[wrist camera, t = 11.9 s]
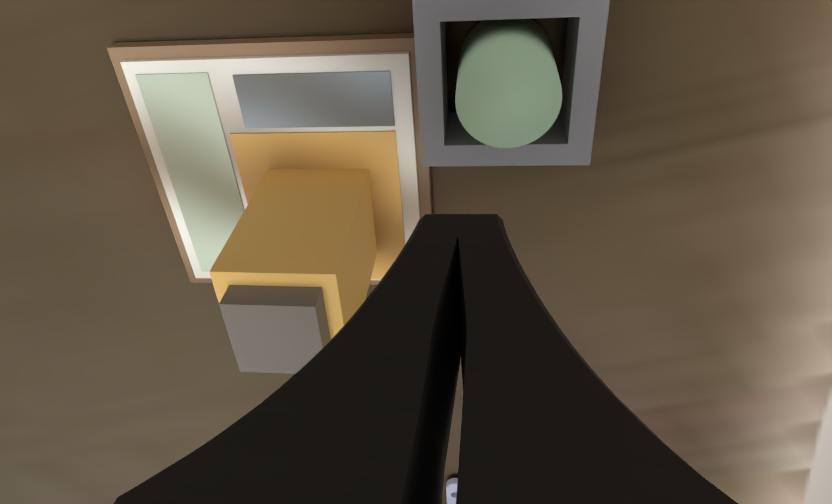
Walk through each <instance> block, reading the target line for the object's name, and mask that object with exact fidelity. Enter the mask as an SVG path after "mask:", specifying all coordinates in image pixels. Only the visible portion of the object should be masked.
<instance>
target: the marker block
mask: <svg viewBox="0 0 832 504" xmlns="http://www.w3.org/2000/svg"><path fill="white" fill-rule="evenodd" d="M376 255H377V246H376V236H375V227H374V217H373V208H372V198H371V189H370V179H369V169H268V171H267V172H266V174H265V176H264V178H263V179H262V181H261V183H260V185H259V186H258V188H257V190H256V191H255V193H254V195H253V197H252V198H251V200H250V202H249V204H248V205H247V207H246V209H245V211H244V212H243V214H242V216H241V217H240V219H239V221H238V223H237V224H236V226H235V228H234V230H233V231H232V233H231V235H230V237H229V238H228V240H227V242H226V244H225V245H224V247H223V249H222V250H221V252H220V254H219V256H218V257H217V259H216V261H215V263H214V264H213V266H212V268H211V270H210V271H209V273H210V276H211V279H212V282H213V285H214V289H215V292H216V295H217V298H218V301H219V306H220V309H221V313H222V316H223V319H224V322H225V325H226V328H227V332H228V335H229V338H230V341H231V344H232V347H233V351H234V354H235V357H236V360H237V363H238V367H239V370H240V372H262V373H288V374H296V373H297V372H298V371H299V370H300V369H301V368H302V367H304V366H305V365H306V364H307V363H308V362H309V361H310V360H311V359H312V358H313V357H314V356H315V355H316V354H317V353H318V352H319V351H320V350H321V349H322V348H323V347H324V346H325V345H326V344H327V343H328V342H329V341H330V340H331V339H332V338H333V337H334V336H335V335H336V334H337V333H338V332H339V331H340V329H341V328H342V327H343V326H344V325H345V324H346V323H347V322H348V321H349V319H350V318H351V317H352V316H353V315H354V313H355V312H356V311H357V310H358V309H359V307H360V306H361V305H362V304H363V302H364V301H365V300H366V297H367V293H368V289H369V284H370V280H371V276H372V272H373V267H374V263H375V259H376Z"/></svg>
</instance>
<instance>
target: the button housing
mask: <svg viewBox="0 0 832 504" xmlns="http://www.w3.org/2000/svg"><path fill="white" fill-rule="evenodd" d="M609 4H610V0H412V7H413V23H414V40H415V56H416V72H417V89H418V105H419V121H420V138H421V154H422V167H433V166H546V165H590V161H591V153H592V144H593V136H594V128H595V119H596V111H597V103H598V95H599V86H600V78H601V70H602V61H603V53H604V45H605V37H606V28H607V20H608V12H609ZM562 17H568V22H567V34H566V46H565V58H564V70H563V82H562V104H561V108H560V112H559V114H558V116H557V119H556V120H555V122H554V123H553V125H552V126H551V127H550V129H549V130H548V131H547V132H546V133H545V134H544V135H542V136H541V137H540V138H538V139H537V140H535V141H533V142H531V143H529V144H527V145H523V146H520V147H515V148H497V147H492V146H489V145H486V144H484V143H482V142H480V141H478V140H476V139H475V138H474V137H472V136H471V135H470V134H469V133H468V132H467V131H466V130H465V128H464V127H463V126H462V124H461V122H460V120H459V118H458V115H457V112H448V82H447V50H446V21H475V20H504V19H533V18H562Z"/></svg>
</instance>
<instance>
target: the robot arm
mask: <svg viewBox="0 0 832 504" xmlns="http://www.w3.org/2000/svg"><path fill="white" fill-rule="evenodd" d="M460 357H461V365H462V379H463V409H462V425H461V440H460V455H459V470H458V478H451V479H449V480H448V481H447V483H446V498H447V504H738V503H736V502H735V501H734V500H732V499H731V498H730V497H728V496H727V495H726V494H725V493H723V492H722V491H721V490H719V489H718V488H717V487H715V486H714V485H713V484H711V483H710V482H709V481H707V480H706V479H705V478H704V477H702V476H701V475H700V474H699V473H698V472H696V471H695V470H694V469H693V468H692V467H691V466H689V465H688V464H687V463H686V462H685V461H684V460H683V459H681V458H680V457H679V456H678V455H677V454H676V453H675V452H673V451H672V450H671V449H670V448H669V447H668V446H667V445H665V444H664V443H663V442H662V441H661V440H660V439H659V438H658V437H657V436H656V435H655V434H654V433H653V432H652V431H651V430H650V429H649V428H648V427H647V426H646V425H645V424H644V423H643V422H642V421H641V420H640V419H639V418H638V417H637V416H636V415H635V414H633V413H632V412H631V411H630V410H629V409H628V408H627V407H626V406H625V405H624V404H623V403H622V402H621V401H620V400H619V399H618V398H617V397H616V396H615V395H614V394H613V392H612V391H611V390H610V389H609V388H608V387H607V386H606V385H605V384H604V382H603V381H602V380H601V379H600V378H599V377H598V376H597V375H596V374H595V372H594V371H593V370H592V369H591V368H590V367H589V365H588V364H587V363H586V362H585V360H584V359H583V358H582V357H581V356H580V354H579V353H578V352H577V351H576V349H575V348H574V347H573V346H572V344H571V343H570V342H569V340H568V339H567V338H566V336H565V335H564V334H563V332H562V331H561V330H560V328H559V327H558V325H557V324H556V322H555V321H554V319H553V318H552V316H551V315H550V314H549V312H548V311H547V309H546V308H545V306H544V304H543V303H542V301H541V300H540V298H539V297H538V295H537V293H536V291H535V290H534V288H533V286H532V285H531V283H530V281H529V279H528V278H527V276H526V274H525V272H524V271H523V269H522V267H521V265H520V263H519V261H518V259H517V257H516V255H515V252H514V250H513V248H512V246H511V244H510V241H509V239H508V236H507V233H506V230H505V227H504V223H503V220H502V219H501V218H500V217H499V216H498V215H497V214H425V215H424V216H423V217H422V218H421V219H419V221H418V223H417V225H416V227H415V229H414V230H413V232H412V234H411V236H410V238H409V239H408V241H407V243H406V244H405V246H404V247H403V249H402V250H401V252H400V254H399V255H398V257H397V258H396V260H395V261H394V263H393V264H392V265H391V267H390V268H389V270H388V271H387V272H386V274H385V275H384V277H383V278H382V279H381V281H380V282H379V284H378V285H377V286H376V288H375V289H374V290H373V292H372V293H371V294H370V295H369V296H368V298H367V299H366V300H365V301H364V302H363V304H362V305H361V306H360V307H359V309H358V310H357V311H356V312H355V313H354V315H353V316H352V317H351V318H350V319H349V321H348V322H347V323H346V324H345V325H344V326H343V327H342V328H341V329H340V331H339V332H338V333H337V334H336V335H335V336H334V337H333V338H332V339H331V340H330V341H329V342H328V343H327V344H326V345H325V346H324V347H323V348H322V349H321V350H320V351H319V352H318V353H317V354H316V355H315V356H314V357H313V358H312V359H311V360H310V361H309V362H308V363H307V364H306V365H305V366H304V367H302V368H301V369H300V370H299V371H298V372H297V373H296V374H295V375H293V376H292V377H291V378H290V379H289V380H288V381H287V382H286V383H285V384H283V385H282V386H281V387H280V388H279V389H278V390H276V391H275V392H274V393H273V394H272V395H270V396H269V397H268V398H267V399H266V400H264V401H263V402H262V403H261V404H259V405H258V406H257V407H255V408H254V409H253V410H251V411H250V412H249V413H247V414H246V415H245V416H243V417H242V418H240V419H239V420H238V421H236V422H235V423H234V424H232V425H231V426H230V427H228V428H227V429H226V430H224V431H223V432H222V433H220V434H219V435H217V436H216V437H214V438H213V439H212V440H210V441H209V442H207V443H206V444H204V445H203V446H201V447H200V448H198V449H197V450H195V451H194V452H192V453H190V454H189V455H187V456H186V457H184V458H182V459H181V460H179V461H177V462H176V463H174V464H172V465H171V466H169V467H168V468H166V469H164V470H163V471H161V472H159V473H158V474H156V475H154V476H153V477H151V478H150V479H148V480H146V481H145V482H143V483H141V484H140V485H138V486H136V487H135V488H133V489H131V490H130V491H128V492H126V493H124V494H123V495H121V496H119V497H118V498H117V499H116V501H115V502H114V504H442V489H443V479H444V469H445V462H446V455H447V448H448V441H449V434H450V427H451V420H452V413H453V407H454V400H455V393H456V386H457V379H458V372H459V365H460Z"/></svg>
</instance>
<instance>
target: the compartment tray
mask: <svg viewBox="0 0 832 504" xmlns="http://www.w3.org/2000/svg"><path fill="white" fill-rule="evenodd" d="M107 50H108V53H109V55H110V58H111V61H112V64H113V67H114V69H115V72H116V75H117V78H118V80H119V83H120V86H121V89H122V92H123V94H124V97H125V100H126V103H127V106H128V108H129V111H130V114H131V117H132V120H133V122H134V125H135V128H136V131H137V134H138V136H139V139H140V142H141V145H142V148H143V150H144V153H145V156H146V159H147V162H148V164H149V167H150V170H151V173H152V175H153V178H154V181H155V184H156V187H157V189H158V192H159V195H160V198H161V201H162V203H163V206H164V209H165V212H166V215H167V217H168V220H169V223H170V226H171V229H172V231H173V234H174V237H175V240H176V243H177V245H178V248H179V251H180V254H181V257H182V259H183V262H184V265H185V268H186V270H187V273H188V276H189V279H190V282H191V283H213V282H212V279H211V276H210V273H209V271H210V270H211V268H212V266H213V264H214V263H215V261H216V259H217V257H218V256H219V254H220V252H221V250H222V249H223V247H224V245H225V244H226V242H227V240H228V238H229V237H230V235H231V233H232V231H233V230H234V228H235V226H236V224H237V223H238V221H239V219H240V217H241V216H242V214H243V212H244V211H245V209H246V207H247V205H248V204H249V202H250V200H251V198H252V197H253V195H254V193H255V191H256V190H257V188H258V186H259V185H260V183H261V181H262V179H263V178H264V176H265V174H266V172H267V171H268V169H369V179H370V189H371V198H372V208H373V217H374V227H375V236H376V246H377V255H376V259H375V263H374V267H373V272H372V276H371V280H370V284H369V285H378V284H379V282H380V281H381V279H382V278H383V277H384V275H385V274H386V272H387V271H388V270H389V268H390V267H391V265H392V264H393V263H394V261H395V260H396V258H397V257H398V255H399V254H400V252H401V250H402V249H403V247H404V246H405V244H406V243H407V241H408V239H409V238H410V236H411V234H412V232H413V230H414V229H415V227H416V225H417V223H418V221H419V219H421V218H422V217H423V216H424V215H425V214H433V213H432V194H431V175H430V167H422V154H421V138H420V121H419V105H418V89H417V72H416V56H415V40H414V33H393V34H362V35H332V36H301V37H270V38H240V39H209V40H179V41H148V42H117V43H113V44H112V45H110V46H109V47H107Z"/></svg>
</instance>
